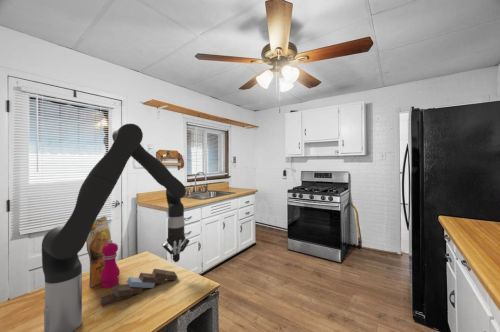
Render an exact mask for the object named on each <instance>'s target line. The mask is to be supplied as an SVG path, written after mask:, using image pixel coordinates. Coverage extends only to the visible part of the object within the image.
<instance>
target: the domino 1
mask: <svg viewBox="0 0 500 332" xmlns="http://www.w3.org/2000/svg"><path fill="white" fill-rule="evenodd" d="M130 297H133V294H131V295H124V296H118V297H117V296H116V295H115V294H114V293H113V292H112V293H109V294H106V295H103V296H101V297H100V303H101V306H102V307H104V308H105V307H106V306H108V305H111V304H113V303H117V302H120V301H122V300H126V299H128V298H130Z"/></svg>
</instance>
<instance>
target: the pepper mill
mask: <svg viewBox="0 0 500 332" xmlns="http://www.w3.org/2000/svg"><path fill="white" fill-rule="evenodd" d="M118 250H119V245H118V244H117V243H116V242H114V241H113V239H111V240H109V241H108V244H106V245H105V246H104V247H103V249H102V253H103V254H104V259H105V266H104V268H103V270H102V273H101V280H103V281H102V282H101V287H102V288H105V289H109V288H113V286H115V285H119V282H120V281H119V276H120V273H121V272H120V268H119V266H118V265H117V262H116V261H117V260H116V257H117V256H118V254H117V252H118Z"/></svg>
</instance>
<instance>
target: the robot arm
mask: <svg viewBox="0 0 500 332" xmlns="http://www.w3.org/2000/svg"><path fill="white" fill-rule="evenodd" d="M143 134H144V133H143V130H142V128H141V127H140V126H139V125H137V124H135V123H124V124H122V125H121V126H119V127H117V128H115V129H114V131H113V132H112V137H111V138H112V140H113V142H112V144H111V146H110V148H109V150H108V151H107V152H106V154H104V156H103V157H102V158H101V159H100V160H98V162H97V163H96V164H95V165H94V167H92V168H91V170H90V172H89V173H88V174H87V176H86V178H85V179H84V181H83V182H82V184H81V186H80V189H79V190H78V195H77V197H76V201H75V202H76V203H75V207H74V209H73V211H72V213H71V214H70V216H69V218H68V219H67V221H66V223H64V225H59V226H58V225H57V226H55V227H54V228H52V229H50V230H49V231H47V232H46V234H45V235H44V236H43V238H42V242H41V264H42V272H43V274H44V308H43V331H44V332H74V331H76V330H77V329H78V328H80V326H81V325H82V324H83V280H82V279H83V276H82V275H83V273H82V272H83V268H82V267H83V266H82V263H81V260H80V257H79V252H81V251H82V249H83V248H84V246H85V244H86V240H87V238H88V235H89V233H90V231H91V229H92V226H93V224H94V222H95V220H97V219H98V218H97V217H98V216H99V214H100V213H101V211H102V209H103V208H104V206H105V204H106V202H107V201H108V199H109V197H110V195H111V194H112V192H113V190H114V189H115V186H116V185H117V184H118V181H119V179H120V177H121V175H122V174H123V171H124V169H125V168H126V165H127V163H128V162H129V159H130V158H133V159H134V160H135V161H136V162H137V163H138V164H139V165H141V167H142V168H143V169H145V171H146V172H147V173H148V174H149V175H150V176H151V177H152V178H153V179H154V180H155V181H156V183H158V185H160V186H162V187H164V188H165V189H166V190H165V197H166V203H167V207H168V210H167V214H168V215H167V238H166V241H165V242H164V243H162V244H161V247H163V248H164V249H165V250H166V252H167V253H169V254H170V255H172V260H173V262H174V263H178V262H179V261H180V258H181V257H180V256H181V255H180V253H183V252H184V251H185V249H186V248H187V246H188V245H189V243H190V240H189V238H186V236H185V211H184V210H185V208H184V207H185V206H184V203H183V202H182V200H181V199H183V198H184V197H185V195H186V193H187V188H186V186H185V184H183V183H182V182H181V181H180V180H179V179H178V178H177V177H176V176H174V175H173V174H172V172H171V171H170V170H169V168H167V167H166V166H165V164H164V163H162V162H161V161H160V160H159V159H158V158H156V157H155V156H153V155H152V154H151V153H150V152H148V150H146V149H145V148H144V147H143V145H142V144H141V143H142V141H143V137H144V136H143ZM169 246H170V247H171V249H170V248H169Z"/></svg>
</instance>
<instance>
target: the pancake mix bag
mask: <svg viewBox="0 0 500 332" xmlns="http://www.w3.org/2000/svg"><path fill="white" fill-rule="evenodd" d="M111 236H112V235H111V230H110V226H109V222H108V219H107V216H106V215H104V216H101V217H99V218H96V220H95V222H94V224H93V226H92V229H91V231H90V233H89V235H88V238H87V240H86V242H85V244H86V251H87V254H88V257H89V282H88V283H89V284H88V285H89V287H90V288H93V287H96V286H98V285H101V284H102V281H103V280H101V273H102V270H103V268H104V266H105V259H104V254H103V253H102V249H103V247H104V246H105V245H106V244H108V241H109V240H112V237H111Z"/></svg>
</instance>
